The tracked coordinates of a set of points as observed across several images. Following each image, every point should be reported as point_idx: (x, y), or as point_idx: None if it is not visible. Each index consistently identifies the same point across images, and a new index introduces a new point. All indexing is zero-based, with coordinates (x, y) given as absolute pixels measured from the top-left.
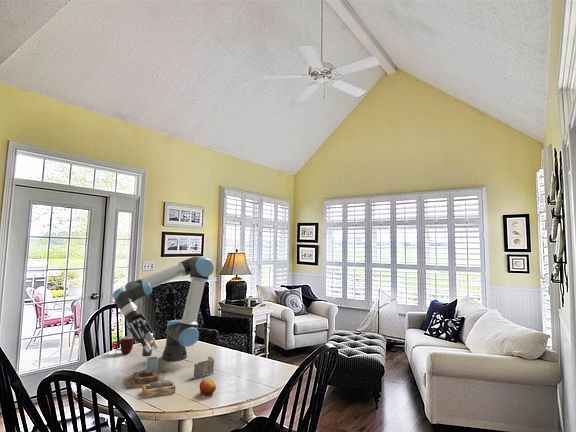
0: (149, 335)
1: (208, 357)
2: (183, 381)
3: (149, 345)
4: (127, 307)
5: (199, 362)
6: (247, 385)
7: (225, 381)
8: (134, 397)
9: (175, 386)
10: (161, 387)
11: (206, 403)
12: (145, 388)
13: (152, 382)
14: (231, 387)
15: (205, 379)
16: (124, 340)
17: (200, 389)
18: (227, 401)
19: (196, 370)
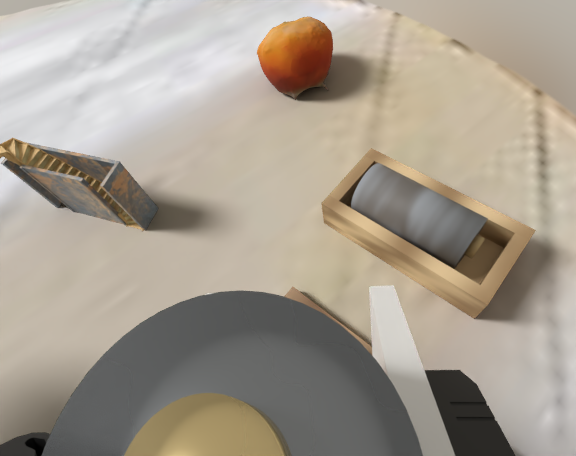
0: (334, 329)
1: (10, 152)
2: (219, 235)
3: (378, 320)
4: None
5: (75, 177)
6: (167, 36)
7: (153, 101)
8: (558, 299)
9: (371, 148)
10: (431, 188)
11: (377, 38)
12: (509, 249)
13: (468, 222)
14: (205, 58)
15: (300, 29)
16: None
17: (328, 66)
18: (323, 10)
19: (134, 189)
